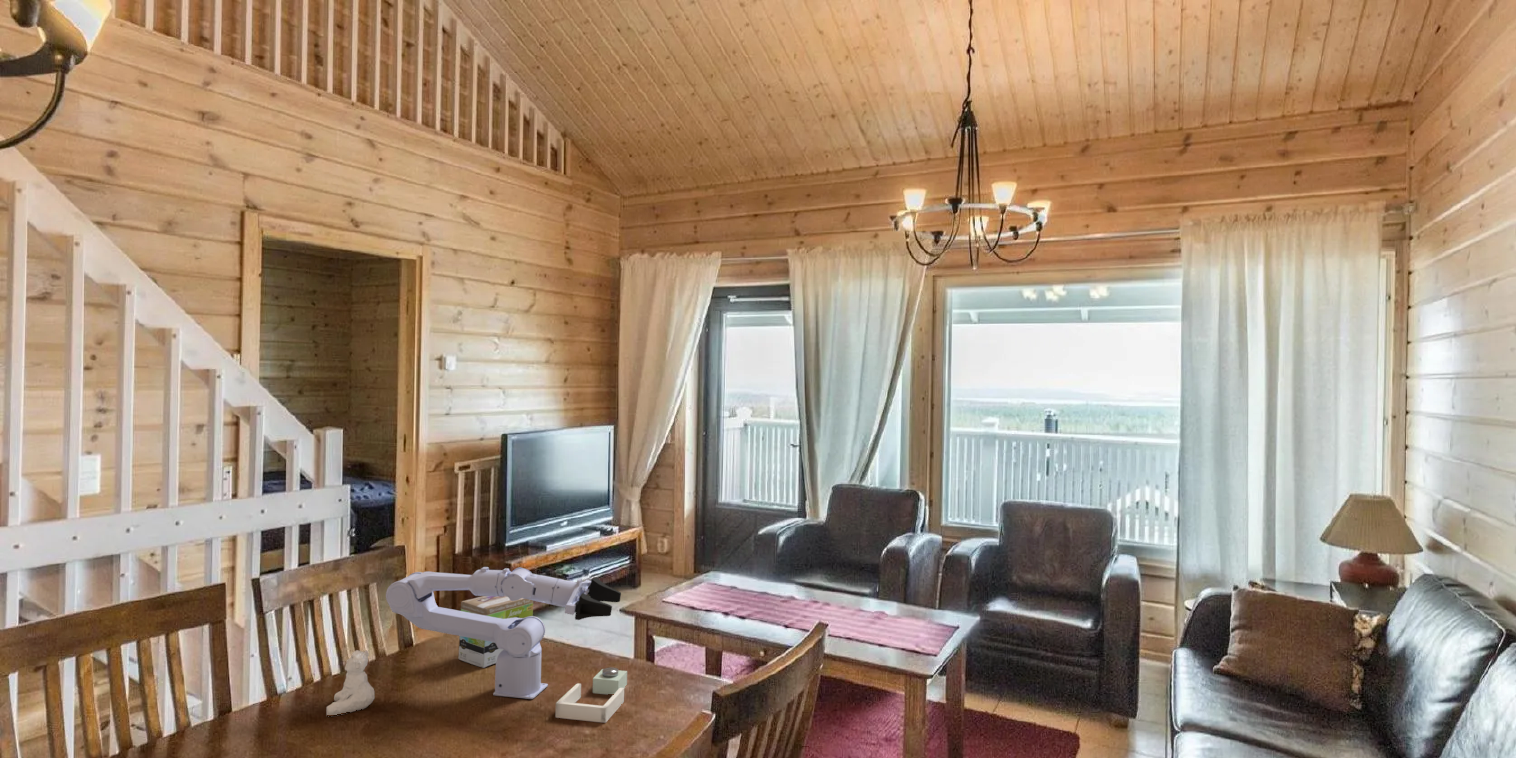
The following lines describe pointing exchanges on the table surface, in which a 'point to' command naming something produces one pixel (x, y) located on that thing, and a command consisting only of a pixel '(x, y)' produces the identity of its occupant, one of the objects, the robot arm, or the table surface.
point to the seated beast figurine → (353, 687)
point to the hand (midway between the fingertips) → (615, 604)
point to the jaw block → (609, 681)
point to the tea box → (491, 606)
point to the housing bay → (587, 706)
